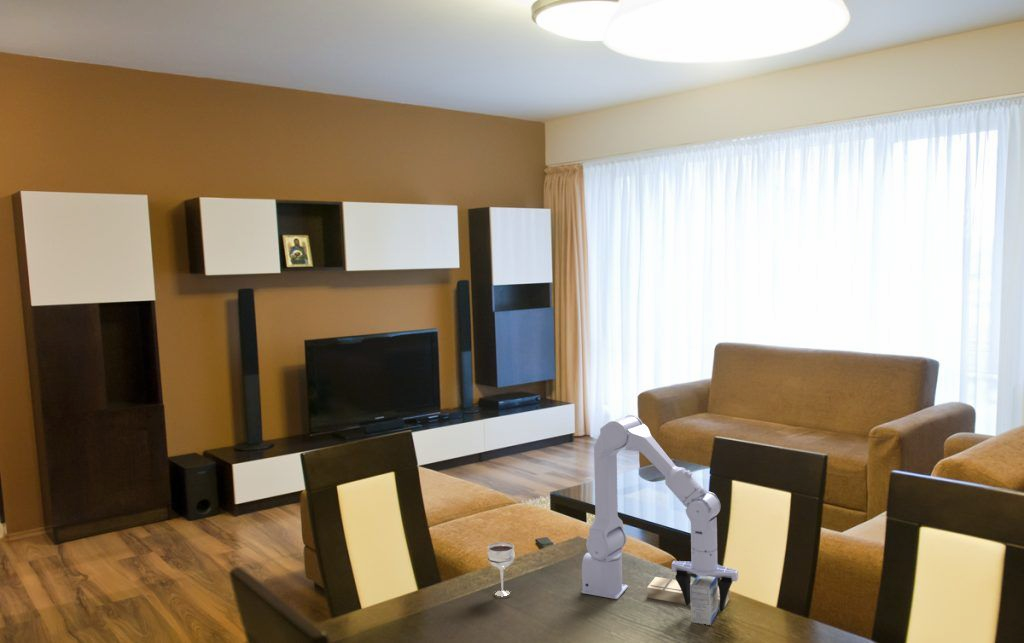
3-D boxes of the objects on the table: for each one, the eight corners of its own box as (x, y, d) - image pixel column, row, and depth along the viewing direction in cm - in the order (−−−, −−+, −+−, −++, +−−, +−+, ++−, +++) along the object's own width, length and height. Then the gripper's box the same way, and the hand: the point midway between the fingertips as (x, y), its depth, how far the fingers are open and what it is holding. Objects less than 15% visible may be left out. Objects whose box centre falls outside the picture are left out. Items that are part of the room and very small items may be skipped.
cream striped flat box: (647, 597, 184) (647, 586, 184) (655, 586, 190) (655, 576, 190) (723, 610, 176) (722, 599, 176) (729, 598, 182) (729, 587, 182)
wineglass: (510, 601, 184) (508, 553, 183) (484, 598, 187) (482, 550, 186) (520, 590, 190) (518, 543, 190) (495, 587, 193) (493, 540, 192)
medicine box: (710, 626, 168) (710, 588, 168) (690, 622, 171) (689, 584, 170) (718, 612, 175) (717, 575, 175) (698, 608, 178) (698, 572, 177)
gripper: (667, 549, 172) (668, 607, 173) (733, 558, 165) (734, 619, 166) (675, 538, 178) (676, 595, 179) (739, 547, 171) (740, 606, 172)
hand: (704, 606), depth 173 cm, fingers open, 7 cm apart
